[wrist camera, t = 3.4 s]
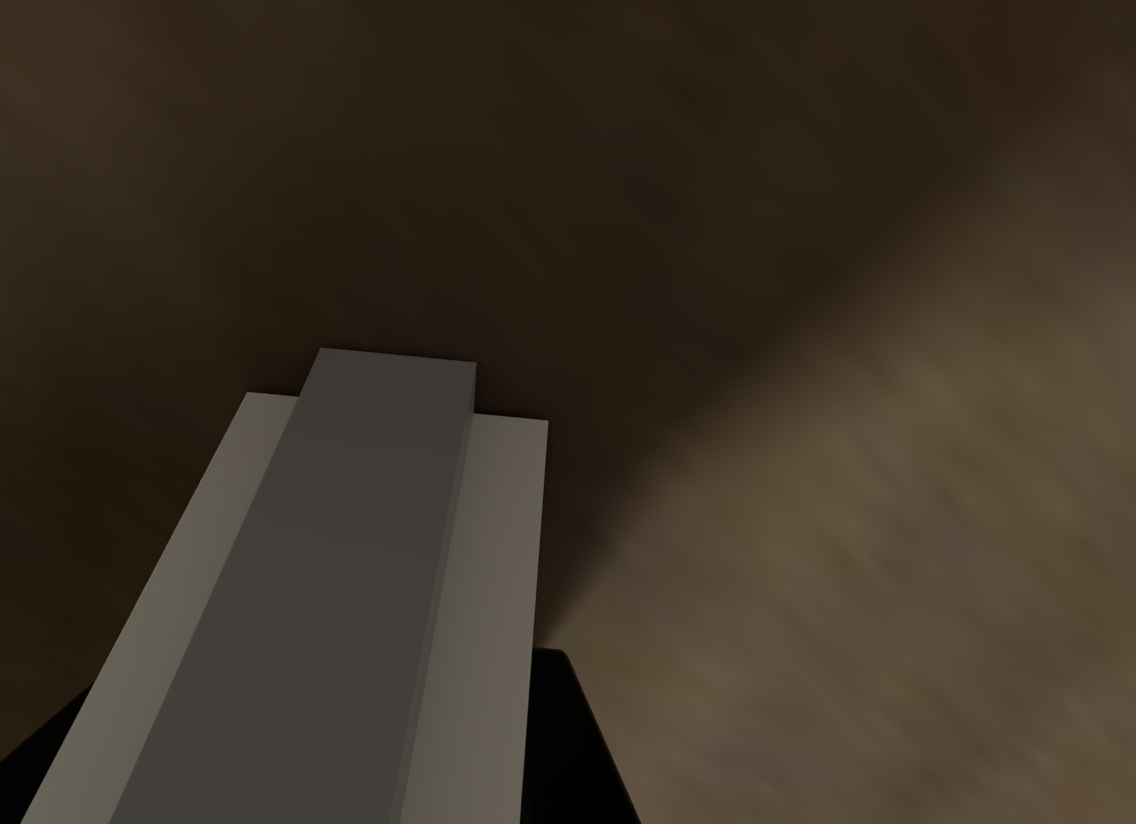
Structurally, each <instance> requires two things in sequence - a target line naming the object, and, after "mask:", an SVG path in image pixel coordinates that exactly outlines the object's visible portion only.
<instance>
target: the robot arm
mask: <svg viewBox="0 0 1136 824" xmlns="http://www.w3.org/2000/svg"><path fill="white" fill-rule="evenodd" d="M95 681H96V680H95ZM95 681H94V682H93V683H92V684H91V685H89V686H88V687H87V688H86V689H85V690H84V691H82V692H81V693H80V694H79V695H78V696H77V697H75V698H74V699H73V700H72V701H71V702H69V703H68V704H67V705H66V706H65V707H64V708H62V709H61V710H60V711H59V712H58V713H57V714H55V715H54V716H53V717H52V718H51V719H49V720H48V721H47V722H46V723H45V724H44V725H42V726H41V727H40V728H39V729H38V730H37V731H35V732H34V733H33V734H32V735H31V736H30V737H28V738H27V739H26V740H25V741H24V742H22V743H21V744H20V745H19V746H18V747H17V748H15V749H14V750H13V751H12V752H11V753H10V754H8V755H7V756H6V757H5V758H4V759H2V760H1V761H0V824H21V822H22V820H23V818H24V816H25V814H26V812H27V810H28V808H29V806H30V805H31V803H32V801H33V799H34V797H35V795H36V793H37V791H38V789H39V787H40V786H41V784H42V782H43V780H44V778H45V776H46V774H47V772H48V770H49V768H50V766H51V765H52V763H53V761H54V759H55V757H56V755H57V753H58V751H59V749H60V747H61V746H62V744H63V742H64V740H65V738H66V736H67V734H68V732H69V730H70V728H71V727H72V725H73V723H74V721H75V719H76V717H77V715H78V713H79V711H80V709H81V707H82V706H83V704H84V702H85V700H86V698H87V696H88V694H89V692H90V690H91V688H92V687H93V685H94V683H95ZM520 824H641V821H640V819H639V817H638V815H637V812H636V810H635V808H634V806H633V803H632V801H631V799H630V796H629V794H628V792H627V790H626V787H625V785H624V783H623V780H622V778H621V776H620V774H619V771H618V769H617V767H616V765H615V762H614V760H613V758H612V755H611V753H610V751H609V749H608V746H607V744H606V742H605V740H604V737H603V735H602V733H601V730H600V728H599V726H598V724H597V721H596V719H595V717H594V714H593V712H592V710H591V708H590V705H589V703H588V701H587V699H586V696H585V694H584V692H583V689H582V687H581V685H580V683H579V680H578V678H577V676H576V673H575V671H574V669H573V667H572V664H571V662H570V660H569V658H568V656H567V655H566V653H565V652H564V651H562V650H559V649H548V648H536V647H532V657H531V671H530V685H529V699H528V713H527V727H526V741H525V755H524V769H523V783H522V797H521V811H520Z"/></svg>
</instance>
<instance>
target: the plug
mask: <svg viewBox="0 0 1136 824" xmlns="http://www.w3.org/2000/svg"><path fill="white" fill-rule="evenodd" d="M475 381H476V362H466V361H455V360H445V359H435V358H424V357H414V356H404V355H393V354H383V353H373V352H362V351H352V350H342V349H331V348H320V350H319V353H318V355H317V357H316V359H315V362H314V364H313V366H312V368H311V371H310V373H309V375H308V377H307V380H306V382H305V384H304V386H303V388H302V391H301V393H300V395H299V397H294V396H284V395H273V394H263V393H252V392H247V393H246V395H245V397H244V399H243V401H242V403H241V405H240V407H239V409H238V411H237V412H236V414H235V416H234V418H233V420H232V422H231V424H230V426H229V428H228V430H227V431H226V433H225V435H224V437H223V439H222V441H221V443H220V445H219V447H218V449H217V451H216V452H215V454H214V456H213V458H212V460H211V462H210V464H209V466H208V468H207V470H206V471H205V473H204V475H203V477H202V479H201V481H200V483H199V485H198V487H197V489H196V491H195V492H194V494H193V496H192V498H191V500H190V502H189V504H188V506H187V508H186V510H185V511H184V513H183V515H182V517H181V519H180V521H179V523H178V525H177V527H176V529H175V530H174V532H173V534H172V536H171V538H170V540H169V542H168V544H167V546H166V548H165V550H164V551H163V553H162V555H161V557H160V559H159V561H158V563H157V565H156V567H155V569H154V570H153V572H152V574H151V576H150V578H149V580H148V582H147V584H146V586H145V588H144V589H143V591H142V593H141V595H140V597H139V599H138V601H137V603H136V605H135V607H134V609H133V610H132V612H131V614H130V616H129V618H128V620H127V622H126V624H125V626H124V628H123V629H122V631H121V633H120V635H119V637H118V639H117V641H116V643H115V645H114V647H113V648H112V650H111V652H110V654H109V656H108V658H107V660H106V662H105V664H104V666H103V668H102V669H101V671H100V673H99V675H98V677H97V679H96V681H95V683H94V685H93V687H92V688H91V690H90V692H89V694H88V696H87V698H86V700H85V702H84V704H83V706H82V707H81V709H80V711H79V713H78V715H77V717H76V719H75V721H74V723H73V725H72V727H71V728H70V730H69V732H68V734H67V736H66V738H65V740H64V742H63V744H62V746H61V747H60V749H59V751H58V753H57V755H56V757H55V759H54V761H53V763H52V765H51V766H50V768H49V770H48V772H47V774H46V776H45V778H44V780H43V782H42V784H41V786H40V787H39V789H38V791H37V793H36V795H35V797H34V799H33V801H32V803H31V805H30V806H29V808H28V810H27V812H26V814H25V816H24V818H23V820H22V822H21V824H520V811H521V797H522V783H523V769H524V755H525V741H526V727H527V713H528V699H529V685H530V671H531V657H532V643H533V629H534V615H535V601H536V587H537V573H538V559H539V545H540V531H541V517H542V503H543V489H544V475H545V461H546V447H547V433H548V421H547V420H537V419H526V418H515V417H505V416H494V415H484V414H474V399H475Z"/></svg>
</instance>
